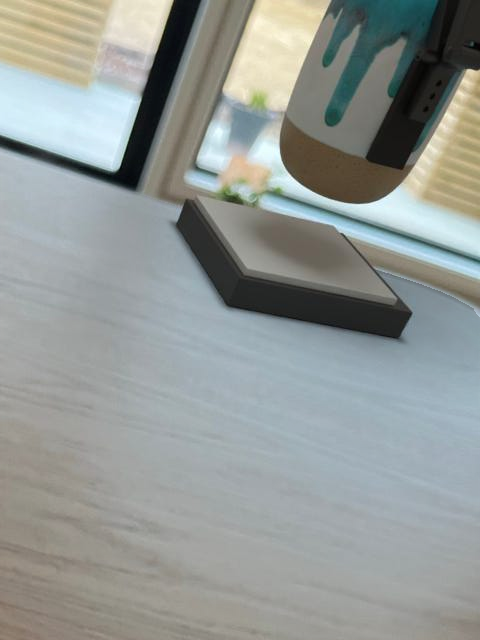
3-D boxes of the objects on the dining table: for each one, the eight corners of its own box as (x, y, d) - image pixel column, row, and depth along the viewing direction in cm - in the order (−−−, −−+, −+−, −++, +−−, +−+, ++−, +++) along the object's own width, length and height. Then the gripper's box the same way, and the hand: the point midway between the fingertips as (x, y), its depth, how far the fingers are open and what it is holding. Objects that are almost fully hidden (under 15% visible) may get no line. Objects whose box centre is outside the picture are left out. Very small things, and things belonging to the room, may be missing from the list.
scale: (331, 257, 91) (346, 226, 89) (398, 338, 81) (417, 305, 80) (175, 224, 87) (188, 190, 85) (227, 305, 77) (243, 270, 75)
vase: (303, 216, 74) (452, -102, 61) (234, 154, 80) (355, -144, 68) (415, 233, 78) (575, -60, 66) (340, 173, 85) (473, -104, 72)
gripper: (396, -287, 69) (255, 70, 83) (588, -245, 53) (372, 187, 67) (489, -250, 71) (336, 91, 86) (700, -199, 55) (467, 210, 70)
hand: (351, 134), depth 76 cm, fingers closed on vase, 11 cm apart
